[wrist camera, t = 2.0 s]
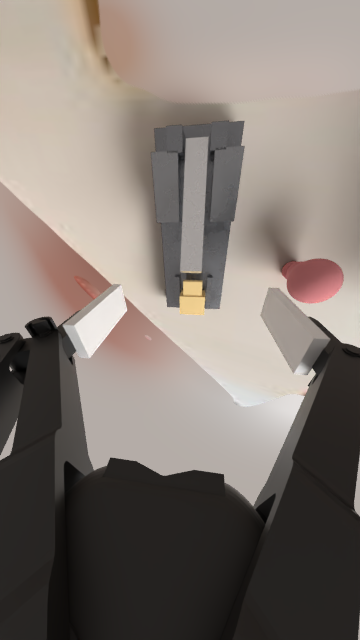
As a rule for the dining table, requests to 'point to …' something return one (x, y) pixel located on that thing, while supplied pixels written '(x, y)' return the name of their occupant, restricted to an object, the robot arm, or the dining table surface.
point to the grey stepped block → (218, 202)
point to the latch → (192, 298)
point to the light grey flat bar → (194, 204)
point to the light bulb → (313, 279)
